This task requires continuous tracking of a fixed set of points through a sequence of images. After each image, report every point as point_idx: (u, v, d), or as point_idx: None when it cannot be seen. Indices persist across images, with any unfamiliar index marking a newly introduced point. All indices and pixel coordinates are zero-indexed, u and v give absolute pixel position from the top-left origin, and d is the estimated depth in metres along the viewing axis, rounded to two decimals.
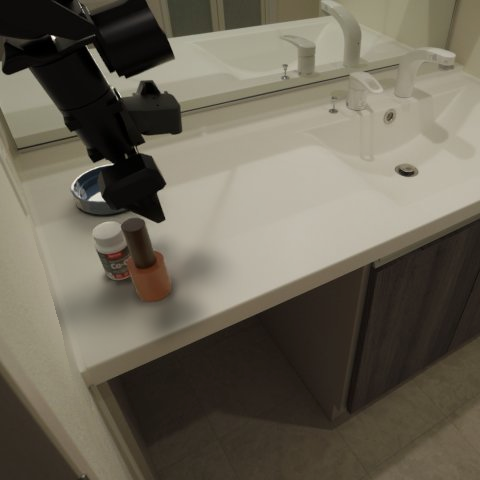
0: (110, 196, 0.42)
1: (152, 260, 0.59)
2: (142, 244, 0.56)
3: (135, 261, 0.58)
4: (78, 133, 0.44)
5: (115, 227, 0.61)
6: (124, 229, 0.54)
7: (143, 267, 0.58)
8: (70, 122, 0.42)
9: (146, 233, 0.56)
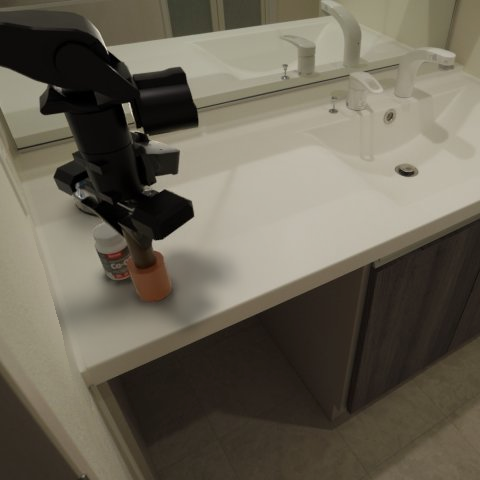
0: (160, 226, 0.46)
1: (152, 260, 0.59)
2: None
3: (135, 261, 0.58)
4: (102, 176, 0.46)
5: None
6: None
7: (143, 267, 0.58)
8: (104, 165, 0.45)
9: None
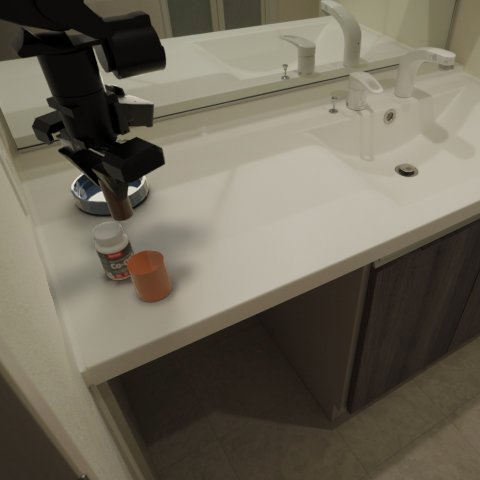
0: (129, 168, 0.48)
1: (129, 213, 0.61)
2: None
3: (112, 213, 0.60)
4: (75, 120, 0.49)
5: (115, 227, 0.61)
6: (100, 179, 0.56)
7: (120, 219, 0.60)
8: (76, 108, 0.47)
9: None
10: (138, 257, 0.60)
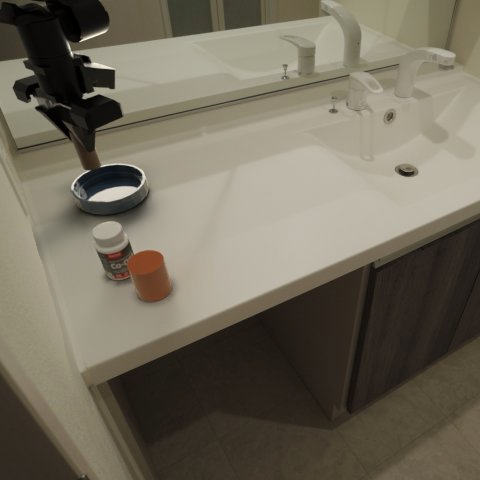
0: (91, 117, 0.59)
1: (97, 163, 0.72)
2: None
3: (82, 163, 0.71)
4: (47, 79, 0.60)
5: (115, 227, 0.61)
6: (70, 132, 0.67)
7: (89, 168, 0.71)
8: (47, 68, 0.58)
9: None
10: (138, 257, 0.60)
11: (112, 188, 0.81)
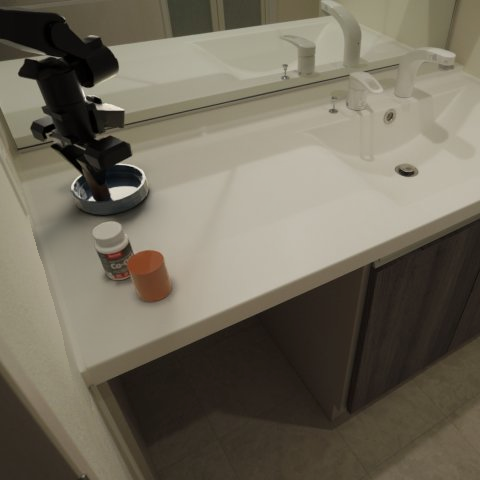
0: (104, 158, 0.65)
1: (107, 195, 0.77)
2: None
3: (93, 195, 0.76)
4: (63, 123, 0.65)
5: (115, 227, 0.61)
6: (83, 168, 0.73)
7: (100, 200, 0.77)
8: (63, 114, 0.64)
9: None
10: (138, 257, 0.60)
11: (112, 188, 0.81)
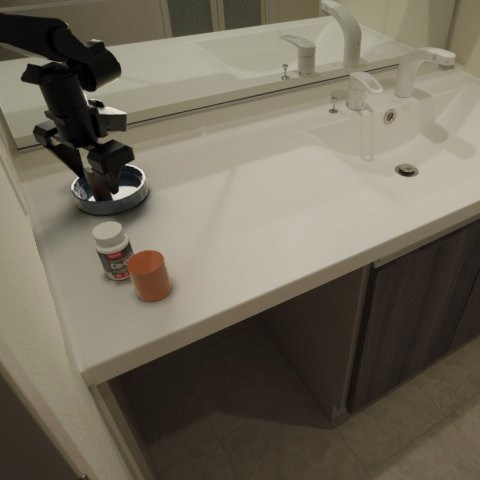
0: (107, 162, 0.65)
1: (109, 198, 0.77)
2: (100, 184, 0.75)
3: (95, 198, 0.76)
4: (66, 127, 0.65)
5: (115, 227, 0.61)
6: (85, 171, 0.73)
7: None
8: (66, 118, 0.64)
9: None
10: (138, 257, 0.60)
11: None
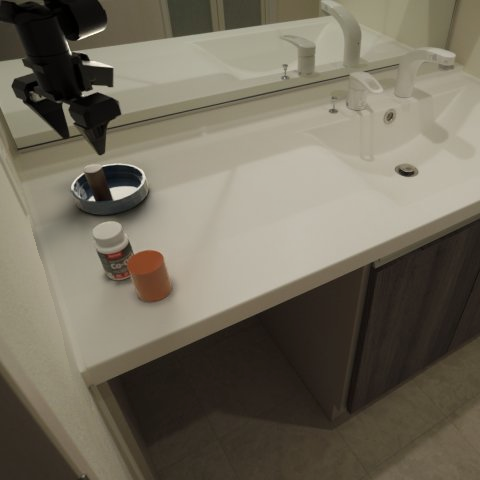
0: (90, 114, 0.60)
1: (109, 198, 0.77)
2: (100, 184, 0.75)
3: (95, 198, 0.76)
4: (45, 77, 0.60)
5: (115, 227, 0.61)
6: (85, 171, 0.73)
7: None
8: (45, 66, 0.59)
9: (103, 175, 0.75)
10: (138, 257, 0.60)
11: (112, 188, 0.81)
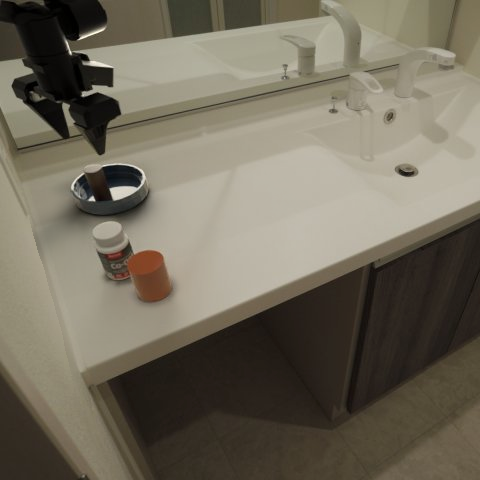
0: (90, 114, 0.60)
1: (109, 198, 0.77)
2: (100, 184, 0.75)
3: (95, 198, 0.76)
4: (45, 77, 0.60)
5: (115, 227, 0.61)
6: (85, 171, 0.73)
7: None
8: (45, 66, 0.59)
9: (103, 175, 0.75)
10: (138, 257, 0.60)
11: (112, 188, 0.81)
